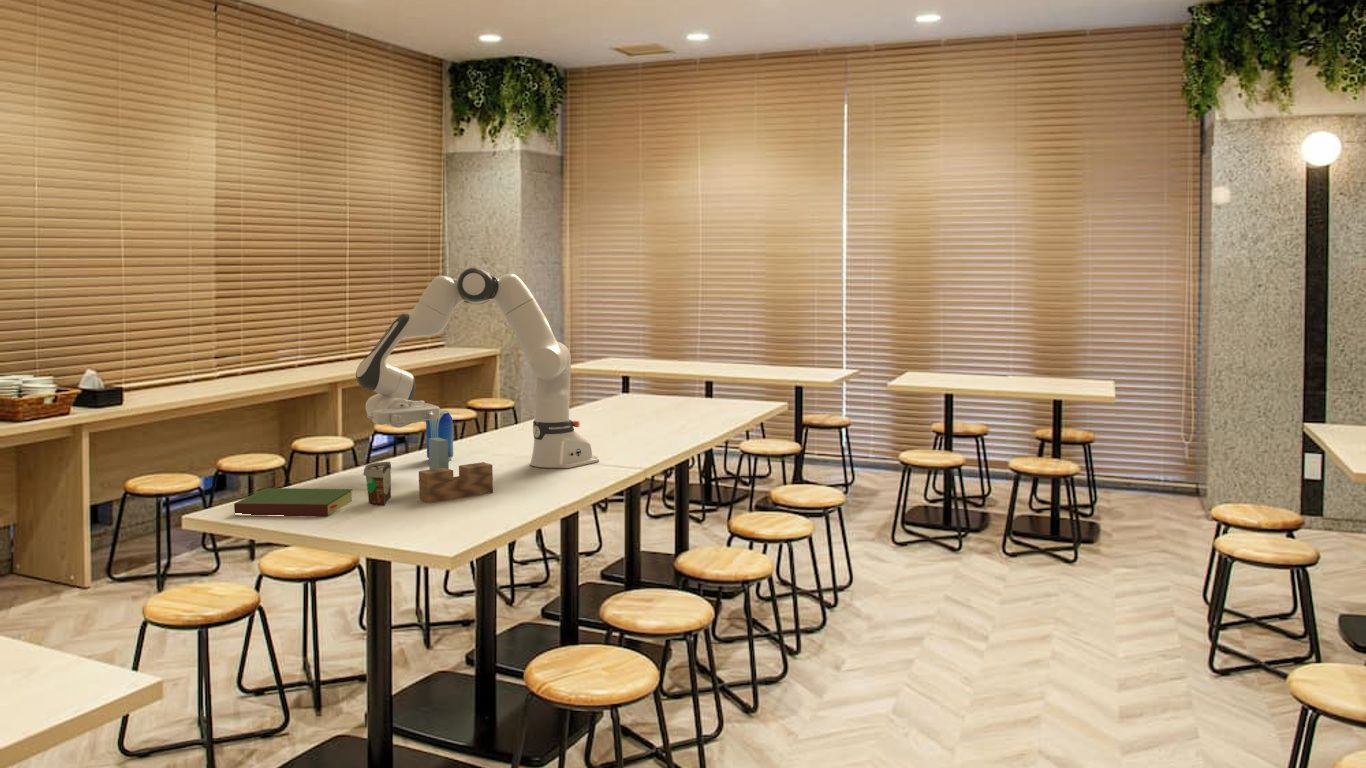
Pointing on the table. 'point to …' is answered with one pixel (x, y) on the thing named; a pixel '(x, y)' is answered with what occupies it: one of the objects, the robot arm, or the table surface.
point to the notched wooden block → (455, 482)
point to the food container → (378, 482)
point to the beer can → (441, 431)
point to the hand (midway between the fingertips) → (417, 418)
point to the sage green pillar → (438, 453)
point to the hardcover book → (294, 502)
